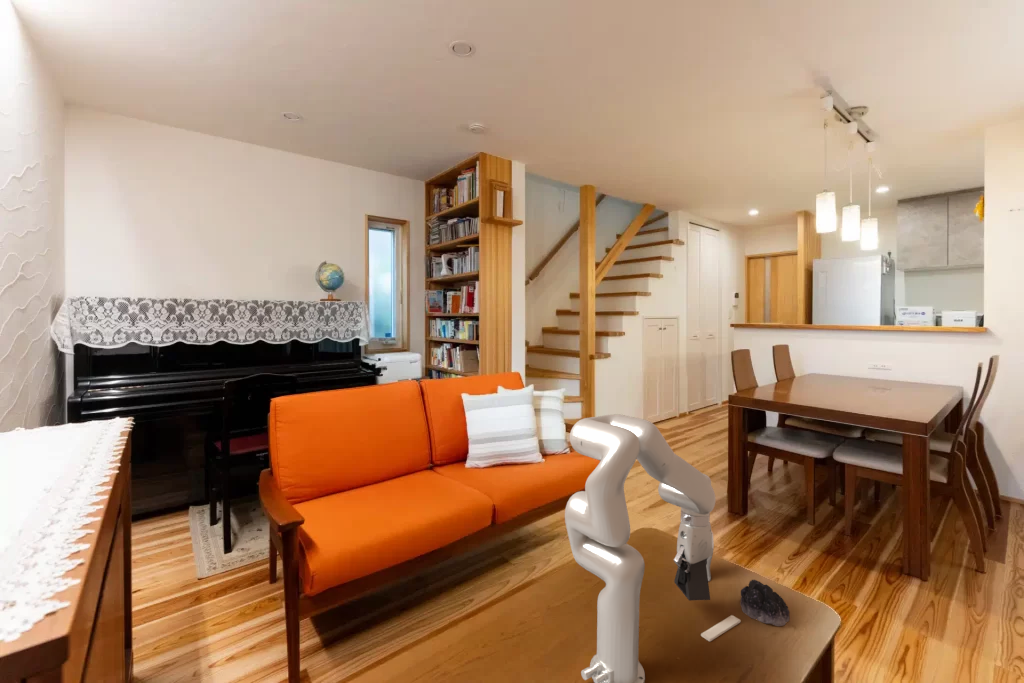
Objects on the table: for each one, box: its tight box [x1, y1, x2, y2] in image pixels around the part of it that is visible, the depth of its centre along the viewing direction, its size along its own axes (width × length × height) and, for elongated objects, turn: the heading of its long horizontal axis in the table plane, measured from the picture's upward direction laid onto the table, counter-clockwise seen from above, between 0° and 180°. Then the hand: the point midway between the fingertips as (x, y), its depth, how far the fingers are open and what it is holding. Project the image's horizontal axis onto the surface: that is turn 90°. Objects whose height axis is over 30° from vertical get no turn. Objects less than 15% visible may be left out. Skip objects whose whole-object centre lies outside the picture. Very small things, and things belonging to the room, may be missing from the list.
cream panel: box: [700, 614, 741, 642], centre depth 120 cm, size 14×2×1 cm, turn 122°
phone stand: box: [673, 557, 711, 601], centre depth 125 cm, size 9×6×12 cm, turn 5°
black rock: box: [740, 579, 790, 627], centre depth 127 cm, size 13×14×10 cm
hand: (692, 580), depth 126 cm, fingers closed on phone stand, 6 cm apart
